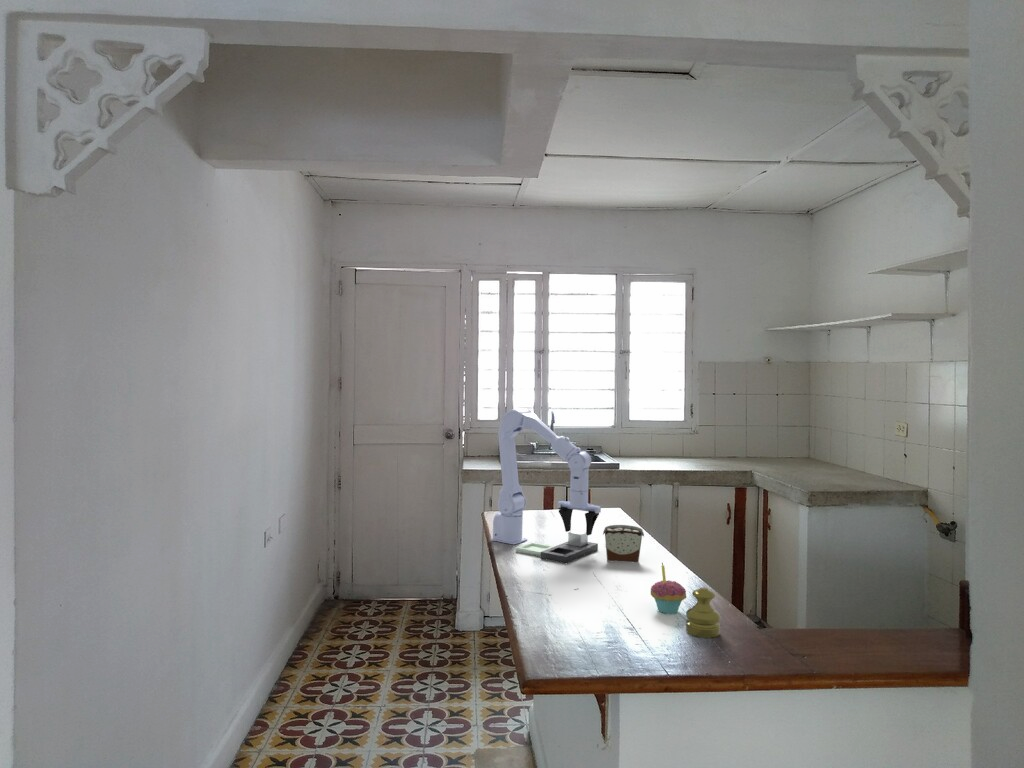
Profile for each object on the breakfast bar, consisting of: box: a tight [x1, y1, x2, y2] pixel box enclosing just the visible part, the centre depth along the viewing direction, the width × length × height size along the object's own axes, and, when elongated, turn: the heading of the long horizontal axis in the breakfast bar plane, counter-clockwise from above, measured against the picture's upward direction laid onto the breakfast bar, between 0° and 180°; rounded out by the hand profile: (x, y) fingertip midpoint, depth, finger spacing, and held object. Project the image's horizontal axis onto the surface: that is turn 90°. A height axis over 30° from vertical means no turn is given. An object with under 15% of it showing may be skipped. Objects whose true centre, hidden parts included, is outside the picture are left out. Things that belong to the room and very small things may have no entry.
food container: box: [602, 524, 645, 564], centre depth 223 cm, size 12×6×10 cm, turn 84°
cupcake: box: [650, 562, 687, 615], centre depth 178 cm, size 9×8×12 cm
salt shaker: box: [685, 586, 722, 639], centre depth 163 cm, size 7×7×10 cm
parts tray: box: [515, 541, 556, 557], centre depth 230 cm, size 9×9×1 cm
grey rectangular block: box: [567, 529, 589, 548], centre depth 232 cm, size 4×4×6 cm
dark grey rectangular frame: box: [540, 541, 599, 564], centre depth 228 cm, size 9×20×2 cm, turn 146°
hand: (578, 532), depth 232 cm, fingers open, 7 cm apart
